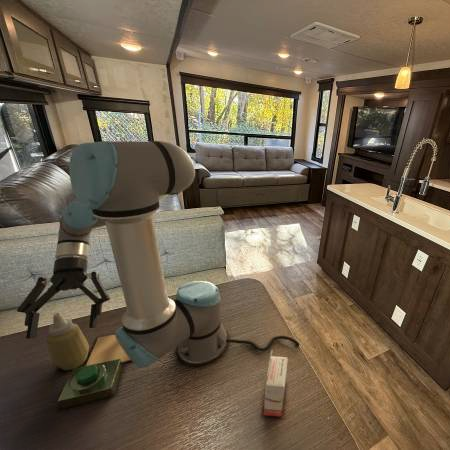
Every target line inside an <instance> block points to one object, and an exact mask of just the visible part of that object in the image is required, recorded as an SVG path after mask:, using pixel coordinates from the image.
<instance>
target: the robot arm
mask: <svg viewBox="0 0 450 450" xmlns="http://www.w3.org/2000/svg"><path fill="white" fill-rule="evenodd" d="M195 167H196V166H195V164H194V161H193V159H192V158H191V156H190V155H189V153H188V152H186V151H185V150H184V149H183V148H182V147H180V146H178V145H176V144H174V143H172V142H168V141H163V140H149V141H145V140H144V141H143V140H141V141H139V140H138V141H137V140H135V141H134V140H133V141H123V140H122V141H120V140H119V141H118V140H117V141H114V140H113V141H112V140H111V141H110V140H102V141H93V142H82V143H80V144H78V145H76V146H75V147H74V148H73V150H72V151H71V154H70V157H69V163H68V170H69V172H68V173H69V180H70V185H71V189H72V192H74V196H75V199H76V200H75V201H73V202H70V203H69V204H68V205H67V206H66V207H65V209H64V211H63V212H62V214H61V216H60V219H59V228H58V236H57V244H56V249H55V255H54V258H55V260H54V262H53V269H52V272H53V273H52V276H51V277H44V276H39V277H37V280H36V282H35V285H34V286H33V288H31V291H30V292H29V293H28V295H26V297H25V298H24V300H23V301H22V302H21V304H20V305H19V306H18V307H17V309H16V311H17V313H22V314H25V317H24V327H27V330H26V334H25V335H26V336H25V339H27V340H28V339H29V340H30V339H36V338H37V334H38V328H39V320H40V314H41V313H40V312H38V311H39V310H41V308H43V307H44V306H45V305H46V304H47V303H48V302H49V301H50V300H51V299H52V298H53V297H54V296H55V295H56V294H58V293H60V292H61V291H62V292H66V291H69V290H73V291H75V290H77V289H79V290H81V292H83V293H84V294H85V295H86V296H87V297H88V298H89V299H90V300H92V302H93V303H92V304H90V305H91V306H90V315H89V329H95V328H97V326H98V325H97V324H98V316H101V315H102V311H103V304H104V303H106V302H109V301H110V300H111V297H110V295H109V294H108V292H107V289H106V288H105V287H104V285H103V283H102V281H101V280H100V273H99V272H97V271H91V272H89V273H87V271H88V264H89V262H88V261H89V260H88V258H89V252H90V241H91V234H92V233H91V232H92V231H93V229H98V228H102V227H105V228H106V231H107V236H108V239H109V242H110V246H111V251H112V254H113V258H114V263H115V266H116V270H117V274H118V278H119V281H120V286H121V290H122V294H123V298H124V303H125V306H126V311H125V312H124V313H123V315H122V318H121V323H122V326H121V327H119V328H117V330H116V331H115V332H114V334H115V336H116V339H117V341H118V342H119V344H120V346H121V347H122V349H123V350H124V351H125V353H126V354H127V355H128V357H129V358H130V359H131V360H132V361H131V362H132V363H133V364H134V365H136V367H138V368H142V369H143V368H147V367H149V366H151V365H152V364H154V363H156V362H157V361H160V359H161V358H163V357H164V356H166V355H167V354H168V353H169V352H172V350H174V349H175V348H177V353H178V357H179V359H180V360H181V361H182V362H183V363H184V364H186V365H190V366H203V365H206V364H209V363H211V362H213V361H215V360H216V359H218V358H219V357H220V356H221V355H222V354H223V353H224V352H225V350H226V349H227V346H228V343H233V344H246V345H250V346H252V347H253V348H254V349H256V350H257V351H259V352H265V351H267V350H269V349H270V348H271V347H272V344H273V343H274V342H275V341H276V340H287V341H290V342H292V343H293V344H294V345H296V346H300V345H301V344H300V343H299V342H298V341H297V340H296V339H295V338H293V337H291V336H287V335H277V336H274V337H273V338H271V339H270V340H269V341H268V343H267V345H266V346H265V347H260V346H259V345H258V344H256V343H255V342H253V341H250V340H247V339H246V340H245V339H233V338H228V334H227V330H226V329H225V327H224V326H223V323H222V320H221V319H222V318H221V296H220V290H219V287H217V286H216V285H215V284H214V283H212V282H209V281H205V280H192V281H189V282H186V283H184V284H182V285H180V286H179V288H178V289H177V291H176V293H175V295H176V297H175V298H173V299H171V298H169V297H168V293H167V288H166V287H167V286H166V281H165V276H164V271H163V264H162V259H161V258H162V257H161V252H160V247H159V241H158V235H157V229H156V224H155V217H154V215H155V214H156V213H157V212H158V211H159V209H160V208H161V207H160V206H161V205H160V202H161V201H162V200H164V199H166V198H167V197H169V196H176V195H178V194H180V193H182V192H184V191H185V190H186V189H188V188H189V187H190V186H191V185H192V184H193V183H194V181H195V178H196V168H195ZM88 278H89V280H91V281H92V282H91V283H93V285H94V287H95V289H96V290H97V292H98V295H99V296H100V297H99V296H98V295H97V294H96V293H95V292H94V291H93V290H92V289H91V288H90V287H89V286H88V285H86V284H85V282H86V281H87V279H88ZM50 283H51V285H50V286H49V288H47V290H46V291H45V292H44V290H45V289H46V287H47V286H48V285H49V284H50ZM43 292H44V293H43ZM42 293H43V294H42ZM41 294H42V295H41Z"/></svg>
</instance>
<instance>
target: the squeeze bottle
mask: <svg viewBox="0 0 450 450" xmlns="http://www.w3.org/2000/svg"><path fill="white" fill-rule="evenodd" d="M52 318H53V319H52V321H53V322H52V324H51V325H49V327H48V332H49V333H48V334H47V336H46V340H47V344H48V350H49V354H50V359H51V363H52V364H53V365H55V366H56V367H58V368H59V369H61V370H62V371H71V370H73V369H74V368H79V367H81V365H83V364H84V363H85V362H86V361H87V359H88V354H89V350H90V346H89V345H90V344H89V342H88V340H87V339H86V337H85V336H84V334H83V332H82V330H81V328H80V326H79V325H78V324H76V323H73V321H72V319H70V318H64V317H63V316H62V315H61V314H60V313H59V312H57V313H54V314H53V317H52Z"/></svg>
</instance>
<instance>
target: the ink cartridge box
mask: <svg viewBox="0 0 450 450" xmlns="http://www.w3.org/2000/svg"><path fill="white" fill-rule="evenodd" d="M288 358H289V357H285V356H275V355H273V350H271V351H270V357H269V361H268V362H269V363H268V368H267V374H266V379H265V386H264V404H263V407H264V408H263V416H270V417H280V418H281V417H282V415H283V414H282V413H283V405H284V397H285V389H286V381H287V371H288V360H289V359H288Z"/></svg>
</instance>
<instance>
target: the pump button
mask: <svg viewBox="0 0 450 450" xmlns="http://www.w3.org/2000/svg"><path fill="white" fill-rule="evenodd" d="M97 376H98V370H97V367H96V366H94V365H90V366H87V367H85V368H83V369H82V370H80V371H79V373H78V374H77V379H78V382H79V384H81V385H86V384H89V383H90V382H92V381H94V380H95V379H96V378H97Z"/></svg>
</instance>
